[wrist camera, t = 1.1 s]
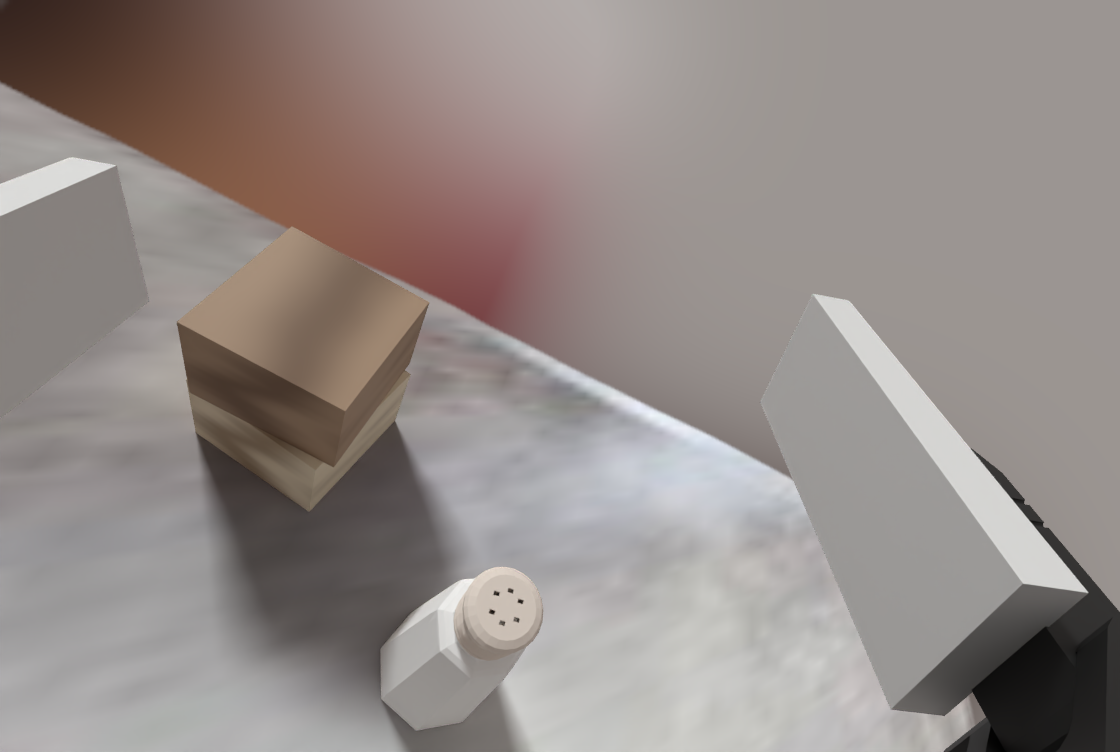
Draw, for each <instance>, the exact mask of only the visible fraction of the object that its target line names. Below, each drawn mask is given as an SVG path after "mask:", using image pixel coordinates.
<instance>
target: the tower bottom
mask: <svg viewBox="0 0 1120 752" xmlns="http://www.w3.org/2000/svg"><path fill="white" fill-rule="evenodd" d="M410 375H411V374H409V373H408V372H407V371H405V370H404V372H403V373H402V374H401V376H400V377H399V379H398V380H397V381H396V383H395V384H394V385H393V387H392V388H391V390H390V391H389V392H388V394H387V395H386V396H385V398H384V399H383V401H382V402H381V403H380V405H379V406H378V407H377V409H376V410H375V412H374V413H373V414H372V416H371V417H370V418H369V420H368V421H367V423H366V424H365V425H364V427H363V428H362V429H361V431H360V432H359V434H358V435H357V436H356V438H355V439H354V440H353V442H352V443H351V445H350V446H349V447H348V449H347V450H346V451H345V453H344V454H343V456H342V457H341V458H340V460H339V461H338V462H337V464H336V465H335V467H332V466H330V465H328V464H326V463H324V462H322V461H320V460H318V459H316V458H314V457H313V456H311V455H309V454H307V453H305V452H303V451H301V450H299V449H297V448H295V447H293V446H291V445H289V444H288V443H286V442H284V441H282V440H280V439H278V438H276V437H274V436H272V435H270V434H268V433H266V432H264V431H263V430H261V429H259V428H257V427H255V426H253V425H251V424H249V423H247V422H245V421H243V420H241V419H240V418H238V417H236V416H234V415H232V414H230V413H228V412H226V411H224V410H222V409H220V408H218V407H216V406H215V405H213V404H211V403H209V402H207V401H205V400H203V399H201V398H199V397H197V396H195V395H193V394H191V393H190V392H189V387H188V392H189V397H190V403H191V408H192V414H193V419H194V425H195V430H196V433H197V434H198V435H200V436H201V437H203V438H204V439H206V440H207V441H208V442H210V443H211V444H213V445H214V446H216V447H217V448H218V449H220V450H221V451H223V452H224V453H226V454H227V455H228V456H230V457H231V458H233V459H234V460H236V461H237V462H238V463H240V464H241V465H243V466H244V467H246V468H247V469H248V470H250V471H251V472H253V473H254V474H255V475H257V476H258V477H260V478H261V479H263V480H264V481H265V482H267V483H268V484H270V485H271V486H273V487H274V488H275V489H277V490H278V491H280V492H281V493H283V494H284V495H285V496H287V497H288V498H290V499H291V500H293V501H294V502H295V503H297V504H298V505H300V506H301V507H303V508H304V509H305V510H307V511H308V512H310V511H311V510H312V509H313V507H314V506H315V505H316V504H317V503H318V502H319V501H320V500H321V499H322V498H323V497H324V496H325V495H326V494H327V493H328V491H329V490H330V489H331V488H332V487H333V486H334V485H335V484H336V483H337V482H338V481H339V480H340V479H341V478H342V477H343V475H344V474H345V473H346V472H347V471H348V470H349V469H350V468H351V467H352V466H353V465H354V464H355V463H356V462H357V461H358V460H359V458H360V457H361V456H362V455H363V454H364V453H365V452H366V451H367V450H368V449H369V448H370V447H371V446H372V445H373V444H374V442H375V441H376V440H377V439H378V438H379V437H380V436H381V435H382V434H383V433H384V432H385V431H386V430H387V429H388V428H389V426H390V425H391V424H392V423H393V422H394V421H395V419H396V416H397V413H398V410H399V407H400V404H401V401H402V398H403V395H404V392H405V389H406V386H407V383H408V380H409V378H410ZM186 381H187V380H186ZM187 386H188V381H187Z"/></svg>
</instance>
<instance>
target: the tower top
mask: <svg viewBox="0 0 1120 752" xmlns="http://www.w3.org/2000/svg"><path fill="white" fill-rule="evenodd" d="M428 305H429V302H428V301H426V300H424V299H422V298H420V297H418V296H417V295H415V294H413V293H411V292H409V291H408V290H406V289H404V288H402V287H400V286H399V285H397V284H395V283H393V282H391V281H390V280H388V279H386V278H384V277H382V276H381V275H379V274H377V273H375V272H373V271H372V270H370V269H368V268H366V267H364V266H363V265H361V264H359V263H357V262H355V261H354V260H352V259H350V258H348V257H346V256H345V255H343V254H341V253H339V252H337V251H336V250H334V249H332V248H330V247H328V246H327V245H325V244H323V243H321V242H319V241H318V240H316V239H314V238H312V237H310V236H309V235H307V234H305V233H303V232H301V231H300V230H297V229H296V228H294V227H291V228H290V229H288V230H287V231H286V232H285V233H283V234H282V235H281V236H280V237H279V238H277V239H276V240H275V241H274V242H273V243H271V244H270V245H269V246H268V247H267V248H265V249H264V250H263V251H262V252H261V253H259V254H258V255H257V256H256V257H255V258H253V259H252V260H251V261H250V262H249V263H247V264H246V265H245V266H244V267H242V268H241V269H240V270H239V271H238V272H236V273H235V274H234V275H233V276H232V277H230V278H229V279H228V280H227V281H226V282H224V283H223V284H222V285H221V286H220V287H218V288H217V289H216V290H215V291H214V292H212V293H211V294H210V295H209V296H208V297H206V298H205V299H204V300H203V301H201V302H200V303H199V304H198V305H197V306H195V307H194V308H193V309H192V310H191V311H189V312H188V313H187V314H186V315H185V316H183V317H182V318H181V319H180V320H179V321H177V326H178V331H179V337H180V342H181V348H182V353H183V359H184V364H185V370H186V375H187V381H188V387H189V392H190V393H191V394H193V395H195V396H197V397H199V398H201V399H203V400H205V401H207V402H209V403H211V404H213V405H215V406H216V407H218V408H220V409H222V410H224V411H226V412H228V413H230V414H232V415H234V416H236V417H238V418H240V419H241V420H243V421H245V422H247V423H249V424H251V425H253V426H255V427H257V428H259V429H261V430H263V431H264V432H266V433H268V434H270V435H272V436H274V437H276V438H278V439H280V440H282V441H284V442H286V443H288V444H289V445H291V446H293V447H295V448H297V449H299V450H301V451H303V452H305V453H307V454H309V455H311V456H313V457H314V458H316V459H318V460H320V461H322V462H324V463H326V464H328V465H330V466H332V467H335V465H336V464H337V462H338V461H339V460H340V458H341V457H342V456H343V454H344V453H345V451H346V450H347V449H348V447H349V446H350V445H351V443H352V442H353V440H354V439H355V438H356V436H357V435H358V434H359V432H360V431H361V429H362V428H363V427H364V425H365V424H366V423H367V421H368V420H369V418H370V417H371V416H372V414H373V413H374V412H375V410H376V409H377V407H378V406H379V405H380V403H381V402H382V401H383V399H384V398H385V396H386V395H387V394H388V392H389V391H390V390H391V388H392V387H393V385H394V384H395V383H396V381H397V380H398V379H399V377H400V376H401V374H402V373H403V372H404V370H405V369H406V368H407V366H408V365H409V363H410V360H411V357H412V354H413V351H414V348H415V345H416V342H417V339H418V336H419V333H420V330H421V326H422V323H423V320H424V317H425V314H426V311H427V308H428Z"/></svg>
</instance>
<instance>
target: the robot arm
mask: <svg viewBox="0 0 1120 752" xmlns="http://www.w3.org/2000/svg"><path fill="white" fill-rule="evenodd" d="M148 302H149V297H148V293H147V288H146V284H145V280H144V276H143V272H142V268H141V264H140V260H139V256H138V252H137V248H136V243H135V239H134V235H133V231H132V227H131V223H130V219H129V215H128V211H127V207H126V203H125V198H124V194H123V190H122V186H121V182H120V178H119V174H118V170H117V166H116V165H111V164H106V163H100V162H95V161H89V160H84V159H79V158H73V157H70V158H67V159H65V160H62V161H59V162H57V163H54V164H51V165H49V166H46V167H44V168H41V169H38V170H36V171H33V172H30V173H28V174H25V175H22V176H20V177H17V178H15V179H12V180H9V181H7V182H4V183H1V184H0V419H1V418H2V417H3V416H5V415H6V414H7V413H8V412H10V411H11V410H12V409H13V408H15V407H16V406H17V405H18V404H20V403H21V402H22V401H24V400H25V399H26V398H27V397H29V396H30V395H31V394H32V393H34V392H35V391H36V390H37V389H39V388H40V387H41V386H43V385H44V384H45V383H46V382H48V381H49V380H50V379H51V378H53V377H54V376H55V375H57V374H58V373H59V372H60V371H62V370H63V369H64V368H65V367H67V366H68V365H69V364H70V363H72V362H73V361H74V360H76V359H77V358H78V357H79V356H81V355H82V354H83V353H84V352H86V351H87V350H88V349H89V348H91V347H92V346H93V345H95V344H96V343H97V342H98V341H100V340H101V339H102V338H103V337H105V336H106V335H107V334H108V333H110V332H111V331H112V330H114V329H115V328H116V327H117V326H119V325H120V324H121V323H122V322H124V321H125V320H126V319H127V318H129V317H130V316H131V315H133V314H134V313H135V312H136V311H138V310H139V309H140V308H141V307H143V306H144V305H145V304H147V303H148ZM760 403H761V405H762V408H763V410H764V413H765V415H766V417H767V419H768V422H769V424H770V426H771V428H772V431H773V434H774V436H775V438H776V441H777V443H778V445H779V448H780V450H781V452H782V455H783V457H784V460H785V462H786V464H787V466H788V469H789V471H790V474H791V476H792V478H793V481H794V483H795V485H796V488H797V490H798V492H799V495H800V497H801V499H802V502H803V504H804V507H805V509H806V511H807V514H808V516H809V518H810V521H811V523H812V525H813V528H814V530H815V532H816V535H817V537H818V539H819V542H820V544H821V547H822V549H823V551H824V554H825V556H826V558H827V561H828V563H829V565H830V568H831V570H832V572H833V575H834V577H835V579H836V582H837V584H838V586H839V589H840V591H841V594H842V596H843V598H844V601H845V603H846V605H847V608H848V610H849V612H850V615H851V617H852V619H853V622H854V624H855V626H856V629H857V631H858V633H859V636H860V638H861V641H862V643H863V645H864V648H865V650H866V652H867V655H868V657H869V659H870V662H871V664H872V666H873V669H874V671H875V673H876V676H877V678H878V681H879V683H880V685H881V688H882V690H883V692H884V695H885V697H886V699H887V702H888V704H889V706H890V709H892V710H900V711H908V712H917V713H925V714H934V715H942V716H945V715H946V714H947V713H948V712H950V711H951V710H952V709H953V708H954V707H955V706H957V705H958V704H959V703H960V702H961V701H962V700H964V699H965V698H966V697H967V696H968V695H969V694H971V693H972V692H973V694H974V695H975V697H976V699H977V701H978V703H979V705H980V706H981V708H982V710H983V712H984V714H985V716H986V718H985V719H983V720H982V721H981V722H979V723H978V724H977V725H976V726H974V727H973V728H972V729H971V730H969V731H968V732H967V733H966V734H964V735H963V736H962V737H961V738H959V739H958V740H957V741H955V742H954V743H953V744H952V745H950V746H949V747H948V748H947V749H945V750H944V752H1120V612H1119V611H1118V610H1117V608H1116V607H1115V606H1114V605H1113V604H1112V603H1111V602H1110V600H1109V599H1108V598H1107V597H1106V596H1105V594H1104V593H1103V592H1102V591H1101V589H1100V588H1099V587H1098V586H1097V585H1096V584H1095V582H1094V581H1093V580H1092V579H1091V578H1090V576H1089V575H1088V574H1087V573H1086V572H1085V571H1084V569H1083V568H1082V567H1081V566H1080V565H1079V563H1078V562H1077V561H1076V560H1075V559H1074V558H1073V556H1072V555H1071V554H1070V553H1069V552H1068V550H1067V549H1066V548H1065V547H1064V546H1063V544H1062V543H1061V542H1060V541H1059V540H1058V539H1057V537H1056V536H1055V535H1054V534H1053V533H1052V531H1051V530H1050V529H1049V528H1044V527H1043V523H1044V522H1043V521H1042V520H1041V519H1040V517H1039V516H1038V515H1037V514H1036V512H1035V511H1034V510H1033V509H1032V508H1031V506H1030V505H1025V504H1024V501H1025V499H1024V498H1023V497H1022V496H1021V495H1020V493H1019V492H1018V491H1017V490H1016V489H1015V488H1014V486H1013V485H1012V484H1011V483H1010V482H1009V480H1008V479H1007V478H1006V477H1005V476H1004V475H1003V473H1002V472H1000V471H999V470H998V469H997V468H995V467H994V466H993V465H991V464H990V463H989V462H988V461H986V460H985V459H984V458H983V457H981V456H980V455H979V454H978V453H976V452H975V451H974V450H973V449H971V448H969V447H968V445H967V444H966V443H965V442H964V440H963V439H962V438H961V437H960V435H959V434H958V433H957V432H956V431H955V429H954V428H953V427H952V426H951V424H950V423H949V422H948V421H947V420H946V418H945V417H944V416H943V415H942V413H940V411H939V410H938V409H937V407H936V406H935V405H934V404H933V402H931V400H930V399H929V398H928V396H927V395H926V394H925V393H924V392H923V390H922V389H921V388H920V387H919V385H918V384H917V383H916V382H915V381H914V379H913V378H912V377H911V376H910V374H909V373H908V372H907V371H906V370H905V368H904V367H903V366H902V365H901V363H900V362H899V361H898V360H897V359H896V357H895V356H894V355H893V354H892V352H891V351H890V350H889V349H888V348H887V347H886V345H885V344H884V343H883V341H882V340H881V339H880V338H879V337H878V335H877V334H876V333H875V332H874V331H873V329H872V328H871V327H870V326H869V324H868V323H867V322H866V321H865V320H864V318H863V317H862V316H861V315H860V313H859V312H858V311H857V310H856V309H855V307H854V306H853V305H852V304H851V302H850V301H848V300H843V299H838V298H831V297H827V296H821V295H815V294H812V296H811V298H810V301H809V303H808V305H807V307H806V309H805V311H804V313H803V315H802V317H801V319H800V321H799V323H798V325H797V327H796V329H795V331H794V333H793V336H792V338H791V340H790V342H789V344H788V346H787V348H786V350H785V352H784V354H783V356H782V358H781V361H780V362H779V364H778V367H777V369H776V370H775V373H774V375H773V377H772V379H771V381H770V383H769V385H768V387H767V389H766V391H765V393H764V395H763V397H762V399H761V402H760Z"/></svg>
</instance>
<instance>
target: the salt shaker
mask: <svg viewBox="0 0 1120 752" xmlns="http://www.w3.org/2000/svg"><path fill="white" fill-rule="evenodd" d="M542 620H543V605H542V599H541V597H540V594H539V592H538V589H537V588H536V586H535V585H534V584H533V582H532V581H531V580H530V579H529V578H528V577H527V576H526V575H525V574H523V573H521V572H519V571H517V570H515V569H513V568H508V567H494V568H492V569H489V570H486V571H484V572H483V573H481V574H480V575H479V576H477V577H476V578H475V579H463V580H460V581H458V582H456V583H454V584H453V585H451V586H450V587H448V588H447V589H445V590H444V591H442V592H441V593H439V594H438V595H436V596H435V597H433V598H432V599H430V600H429V601H427V602H426V603H424V604H423V605H421V606H420V607H418V608H417V609H415V610H414V611H413V612H411V613H410V614H409V615H408V617H407V618H406V619H405V620H404V621H403V623H402V624H401V625H400V626H399V627H398V628H397V630H396V631H395V632H394V633H393V634H392V635H391V637H390V638H389V639H388V640H387V641H386V643H385V644H384V645H383V646H382V647H381V648H380V663H381V699H382V700H383V701H384V702H385V703H386V704H387V705H388V706H389V707H390V708H391V709H393V710H394V711H395V712H396V713H397V714H398V715H399V716H400V717H401V718H402V719H403V720H405V721H406V722H407V723H408V724H409V725H410V726H411V727H412V728H413V729H414V730H415V731H418V730H423V729H429V728H434V727H440V726H445V725H451V724H457V723H462V722H463V721H464V720H465V719H466V718H467V717H468V716H469V715H470V714H471V713H472V712H473V711H474V709H475V708H476V707H477V706H478V705H479V704H480V703H481V702H482V701H483V700H484V699H485V698H486V697H487V696H488V695H489V694H490V693H491V692H492V691H493V690H494V689H495V688H496V687H497V686H498V685H499V684H500V683H501V682H502V681H503V680H504V679H505V677H506V676H507V674H508V673H509V672H510V671H511V669H512V668H513V666H514V665H515V663H516V662H517V660H518V659H519V657H520V656H521V654H522V653H523V651H524V650H525V648H526V647H527V646H528V645H529V644H530V643H531V642H532V641H533V640H534V639H535V637H536V635H537V634H538V632H539V630H540V627H541V624H542Z"/></svg>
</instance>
